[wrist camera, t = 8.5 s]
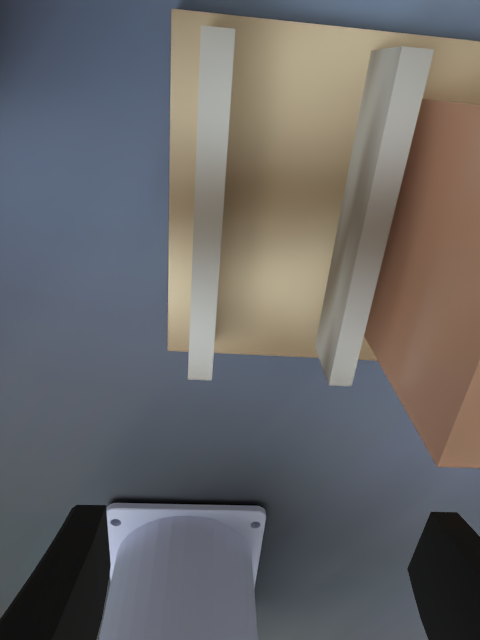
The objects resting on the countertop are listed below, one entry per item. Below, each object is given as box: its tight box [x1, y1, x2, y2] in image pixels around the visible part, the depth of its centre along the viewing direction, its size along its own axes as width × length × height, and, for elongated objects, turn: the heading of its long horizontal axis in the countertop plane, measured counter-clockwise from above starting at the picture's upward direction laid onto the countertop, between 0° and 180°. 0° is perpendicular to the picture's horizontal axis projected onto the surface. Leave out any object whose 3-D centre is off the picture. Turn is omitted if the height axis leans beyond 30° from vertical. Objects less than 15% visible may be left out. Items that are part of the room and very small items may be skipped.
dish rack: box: [168, 9, 480, 386], centre depth 15 cm, size 11×17×4 cm, turn 85°
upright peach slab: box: [364, 99, 480, 468], centre depth 13 cm, size 8×2×7 cm, turn 175°
